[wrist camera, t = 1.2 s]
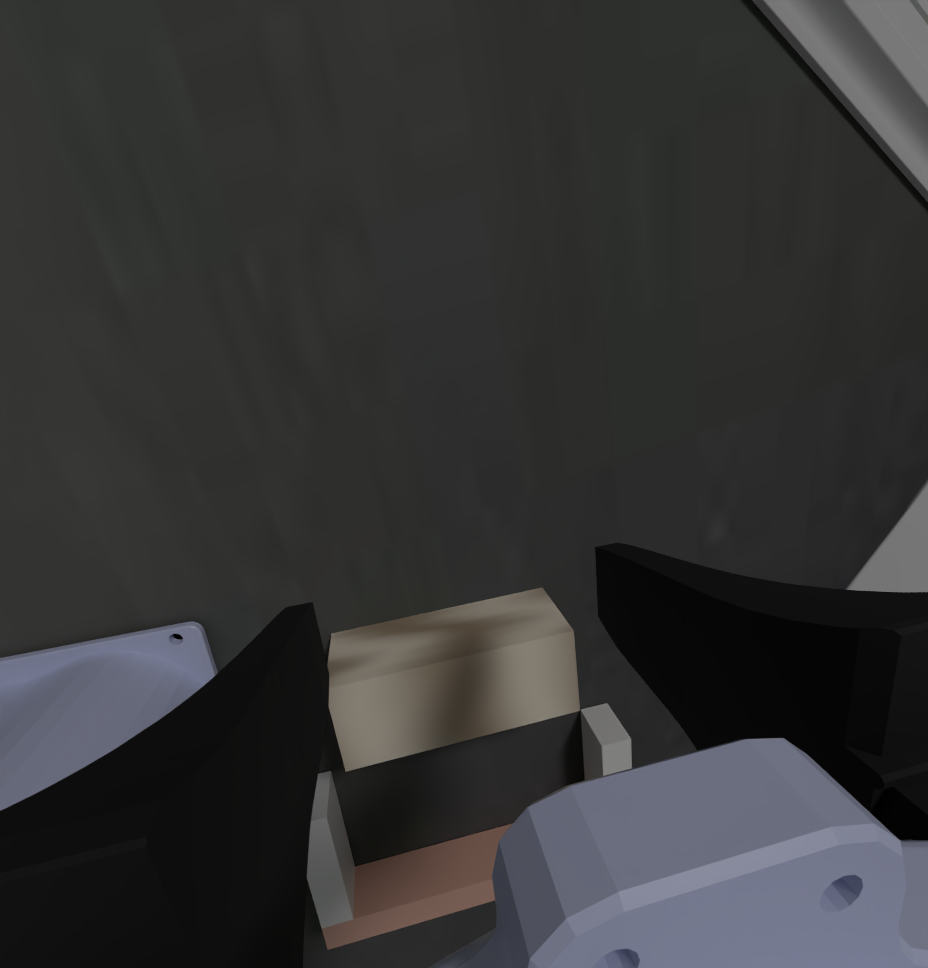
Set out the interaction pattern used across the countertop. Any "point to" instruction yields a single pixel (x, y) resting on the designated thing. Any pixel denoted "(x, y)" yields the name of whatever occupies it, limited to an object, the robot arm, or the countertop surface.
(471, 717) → the slat block
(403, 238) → the countertop surface
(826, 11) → the baseboard molding
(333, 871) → the block with end panels
